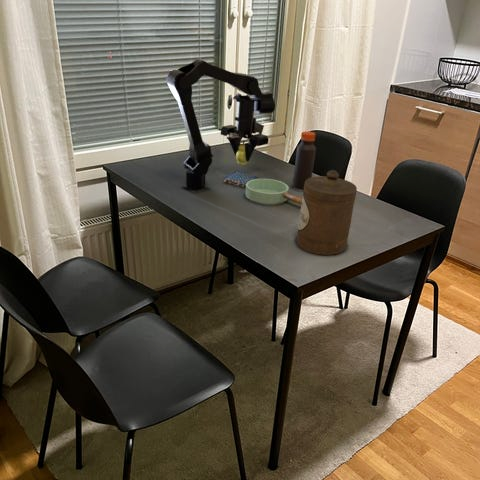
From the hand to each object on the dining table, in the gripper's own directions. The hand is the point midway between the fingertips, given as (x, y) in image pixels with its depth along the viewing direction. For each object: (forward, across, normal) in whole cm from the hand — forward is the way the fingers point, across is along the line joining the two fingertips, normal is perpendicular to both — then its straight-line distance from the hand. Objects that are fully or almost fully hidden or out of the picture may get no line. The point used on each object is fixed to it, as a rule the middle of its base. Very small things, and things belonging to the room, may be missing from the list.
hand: (242, 159), depth 181 cm
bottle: (+9, -18, -14) cm, 25 cm away
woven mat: (+9, 0, 0) cm, 9 cm away
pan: (+9, -16, +4) cm, 19 cm away
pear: (+1, 0, 0) cm, 1 cm away
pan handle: (+7, -29, +4) cm, 30 cm away
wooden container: (+9, -51, +20) cm, 55 cm away
